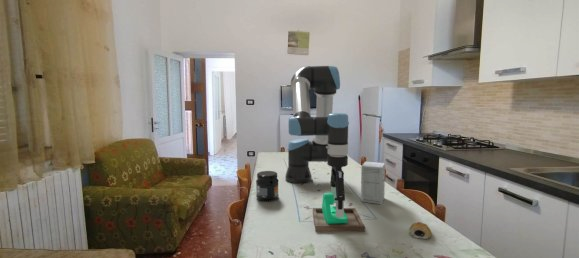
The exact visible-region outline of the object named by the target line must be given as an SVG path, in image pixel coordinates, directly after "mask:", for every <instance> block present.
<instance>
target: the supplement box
mask: <svg viewBox="0 0 579 258" xmlns="http://www.w3.org/2000/svg"><path fill="white" fill-rule="evenodd" d="M385 168H386V163H385V162H374V161H364V163H362V165H361V169H360V170H361V172H360V174H361V177H360V178H361V180H360V187H361V188H360V202H364V203H369V204H378V205H383V203H384V200H385V179H386V178H385V177H386V176H385V175H386V174H385V173H386V169H385Z"/></svg>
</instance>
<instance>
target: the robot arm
mask: <svg viewBox="0 0 579 258" xmlns="http://www.w3.org/2000/svg"><path fill="white" fill-rule="evenodd" d="M340 88H341V77H340V72H339V69H338V67H337V66H336V65H335V66H334V65H317V66H316V65H315V66H314V65H313V66H311V65H306V66H304V67H302V68H299V69H298V70H297V71H296V72H295V73H294V74H293V75H292V78H291V81H290V89H291V91H292V116H291V117H289V118H288V135H289V136H295V137H301V136H303V137H305V136H307V137H308V136H310V137H312V136H313V137H312V140H309V139H308V138H297V139H292V140H290V141H289V142H288V144H287V145H288V148H287V150H288V160H287V163H288V164H287V169H286V172H285V177H284V179H285V181H286V182H288V183H293V184H304V183H305V184H306V183H308V182H309V183H310V182H311V181H312V178H313V177H312V173H311V170H310V167H309V166H310V165H309V163H311V162H313V163H314V162H317V163H318V162H319V163H321V162H324V163H327V166H328V167H331V169H330V170H331V171H330V172H331V173H330V181H329V183H330V193H333V196H334V204H335V206H336V218H344V208H345V207H344V206H345V205H344V204H345V203H344V202H345V201H346V196H345V192H346V191H345V179H344V178H345V177H344V175H345V172H344V170H343V169H342V168H343V167H347V166H348V164H349V162H348V161H349V157H348V154H349V123H350V122H349V115H348V114H347V113H341V112H340V113H339V112H337V113H336V112H333V105H334V102H333V101H334V96H335V95H336V94H337V91H338V90H339V89H340ZM310 90H313V93H314V94H315V95H316V104H315V105H316V106H315V107H316V110H315V116H312V114H311V102H310V93H309V92H310Z"/></svg>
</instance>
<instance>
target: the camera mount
mask: <svg viewBox="0 0 579 258" xmlns="http://www.w3.org/2000/svg"><path fill="white" fill-rule="evenodd" d="M321 208H322V212H323V214H324V219H325V221H326V222H327V224H336V223H347V222H348V217H347V215H346V214H345V212H344V218H336V205H335V203H334V196H333V193H331V192H326V193H323V195H322V204H321Z"/></svg>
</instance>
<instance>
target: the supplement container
mask: <svg viewBox="0 0 579 258" xmlns="http://www.w3.org/2000/svg"><path fill="white" fill-rule="evenodd" d="M256 178H257V179H256V181H255V183H256V184H255V185H256V186H255V187H256V192H255V193H256V194H255V195H256V199H257V200H258V201H261V202H273V201H276V200H277V199H278V198H279V179H278V172H276V171H275V170H274V171H273V170H263V171H260V172H259V171H258V172H257V174H256Z"/></svg>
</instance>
